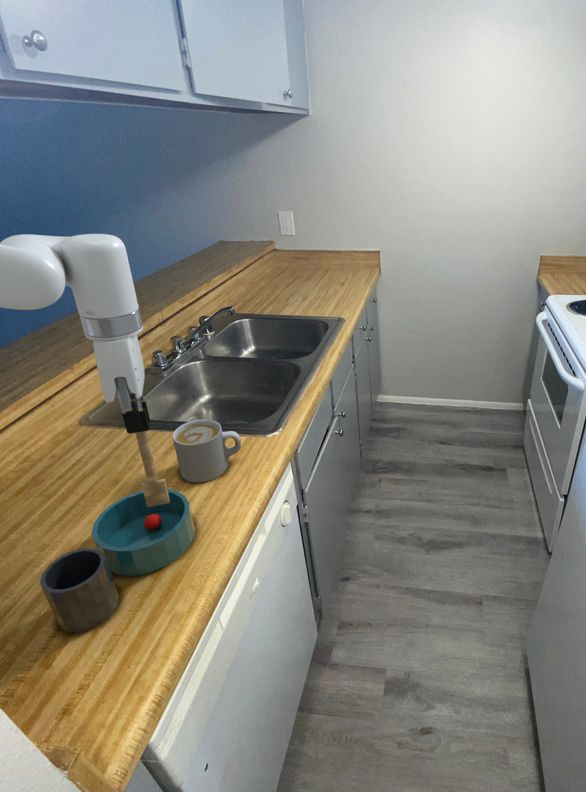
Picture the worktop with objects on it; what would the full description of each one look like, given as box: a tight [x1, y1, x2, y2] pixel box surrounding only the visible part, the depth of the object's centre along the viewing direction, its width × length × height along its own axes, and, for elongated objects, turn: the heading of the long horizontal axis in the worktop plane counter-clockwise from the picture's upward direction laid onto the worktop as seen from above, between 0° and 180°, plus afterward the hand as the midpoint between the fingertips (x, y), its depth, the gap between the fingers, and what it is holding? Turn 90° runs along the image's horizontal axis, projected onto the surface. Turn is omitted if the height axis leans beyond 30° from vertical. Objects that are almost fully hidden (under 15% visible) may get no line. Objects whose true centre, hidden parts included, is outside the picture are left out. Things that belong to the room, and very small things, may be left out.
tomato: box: [144, 514, 162, 531], centre depth 89 cm, size 3×3×3 cm
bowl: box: [91, 488, 196, 577], centre depth 87 cm, size 16×16×6 cm
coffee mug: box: [172, 419, 242, 483], centre depth 105 cm, size 13×10×10 cm
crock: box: [39, 547, 120, 633], centre depth 73 cm, size 8×8×9 cm
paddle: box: [131, 399, 170, 507], centre depth 80 cm, size 4×2×22 cm, turn 113°
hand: (139, 427), depth 78 cm, fingers closed on paddle, 1 cm apart
